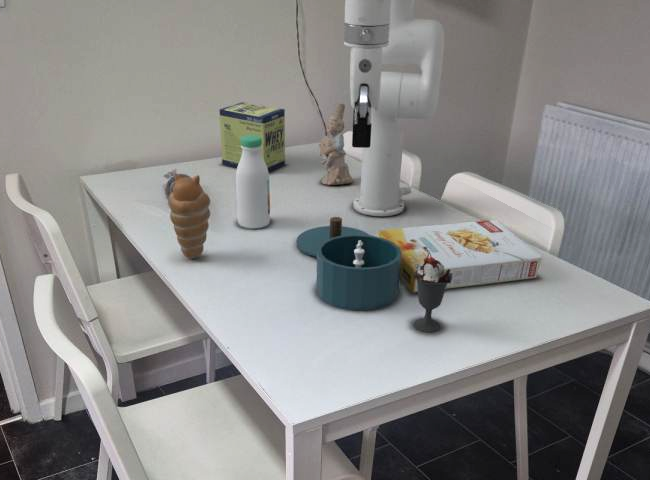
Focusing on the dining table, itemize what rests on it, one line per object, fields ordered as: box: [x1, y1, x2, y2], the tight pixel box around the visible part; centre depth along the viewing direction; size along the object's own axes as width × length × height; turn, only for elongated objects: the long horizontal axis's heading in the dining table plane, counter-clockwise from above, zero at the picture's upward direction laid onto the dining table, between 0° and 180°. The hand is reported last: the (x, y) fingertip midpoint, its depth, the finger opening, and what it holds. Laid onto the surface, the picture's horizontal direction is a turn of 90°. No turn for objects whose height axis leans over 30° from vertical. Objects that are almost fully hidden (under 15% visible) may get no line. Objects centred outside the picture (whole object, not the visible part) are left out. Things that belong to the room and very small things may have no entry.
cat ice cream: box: [167, 172, 211, 260], centre depth 148 cm, size 9×8×18 cm
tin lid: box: [296, 216, 370, 258], centre depth 157 cm, size 17×17×6 cm
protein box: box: [219, 101, 286, 173], centre depth 202 cm, size 10×16×16 cm
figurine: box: [318, 102, 354, 186], centre depth 189 cm, size 9×8×20 cm
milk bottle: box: [235, 135, 271, 229], centre depth 164 cm, size 8×8×20 cm
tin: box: [315, 234, 402, 311], centre depth 138 cm, size 16×16×8 cm
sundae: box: [412, 247, 452, 333], centre depth 125 cm, size 7×7×15 cm
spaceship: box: [162, 168, 192, 200], centre depth 176 cm, size 8×35×8 cm
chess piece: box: [353, 240, 365, 268], centre depth 138 cm, size 5×5×10 cm
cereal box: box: [378, 219, 543, 294], centre depth 149 cm, size 20×6×28 cm
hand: (361, 139), depth 129 cm, fingers open, 9 cm apart
